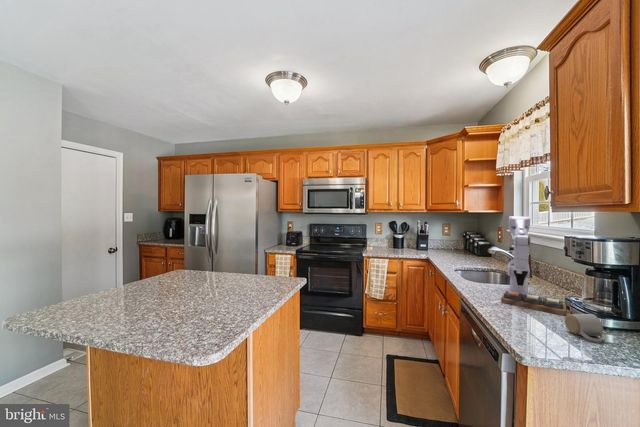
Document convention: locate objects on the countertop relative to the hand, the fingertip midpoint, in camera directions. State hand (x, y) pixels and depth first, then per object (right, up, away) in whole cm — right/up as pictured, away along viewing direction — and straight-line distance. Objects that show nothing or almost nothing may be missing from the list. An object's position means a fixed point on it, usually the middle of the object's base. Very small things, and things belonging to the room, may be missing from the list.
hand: (520, 285), depth 137 cm
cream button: (+2, -6, -5) cm, 8 cm away
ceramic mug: (-3, -9, -37) cm, 38 cm away
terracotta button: (-4, -6, 0) cm, 7 cm away
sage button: (+8, -7, -10) cm, 14 cm away
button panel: (+2, -9, -5) cm, 10 cm away
